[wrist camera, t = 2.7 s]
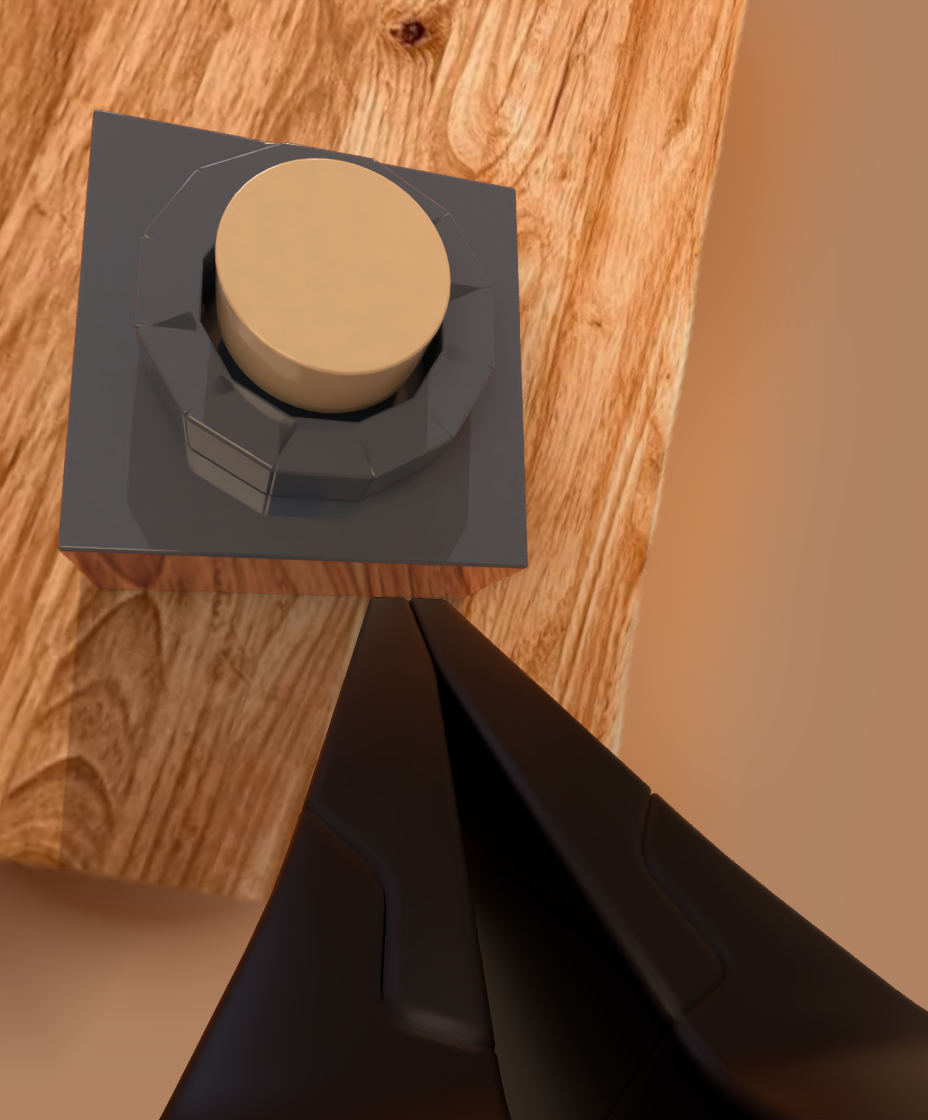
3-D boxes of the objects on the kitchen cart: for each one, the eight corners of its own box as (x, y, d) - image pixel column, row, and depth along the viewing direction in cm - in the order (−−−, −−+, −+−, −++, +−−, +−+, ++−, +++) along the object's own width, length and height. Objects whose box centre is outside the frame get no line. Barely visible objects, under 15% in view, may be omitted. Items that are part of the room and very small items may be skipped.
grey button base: (464, 598, 23) (560, 553, 17) (95, 589, 20) (36, 530, 14) (459, 289, 25) (543, 138, 18) (121, 240, 22) (79, 41, 16)
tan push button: (426, 424, 17) (453, 386, 15) (211, 403, 15) (209, 360, 14) (424, 238, 18) (450, 179, 16) (219, 204, 16) (220, 136, 14)
